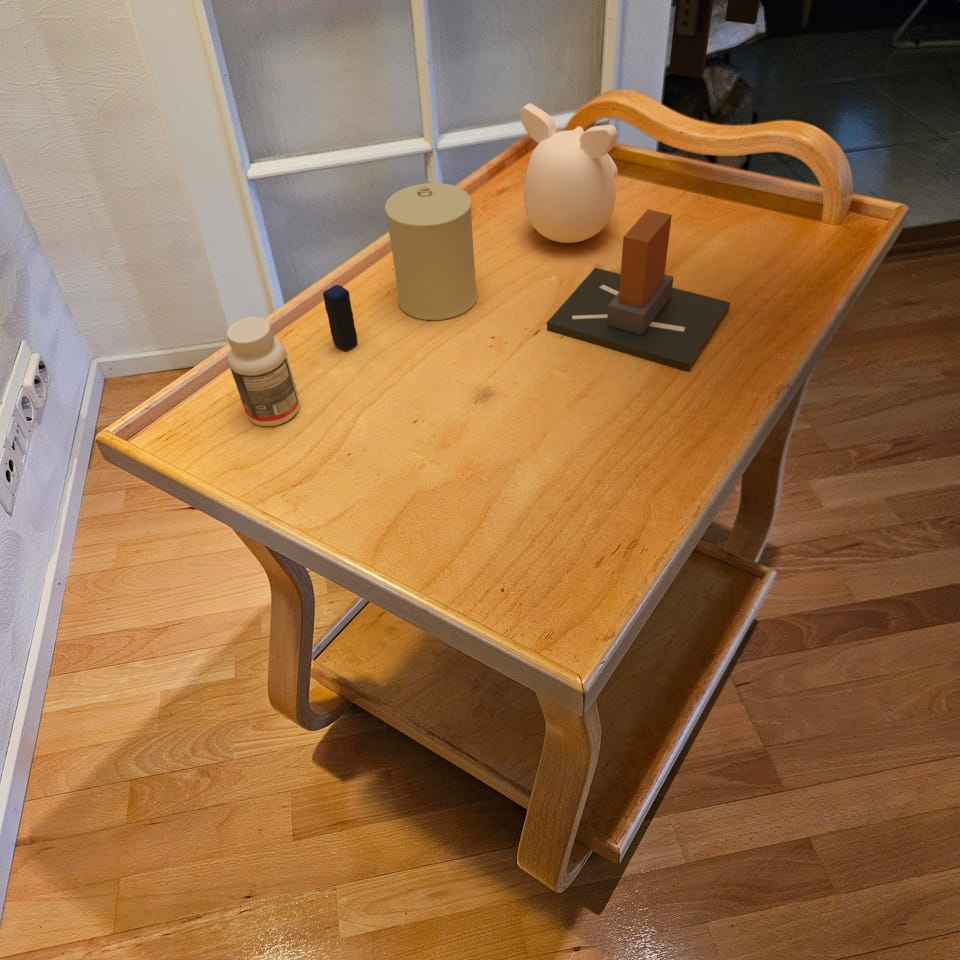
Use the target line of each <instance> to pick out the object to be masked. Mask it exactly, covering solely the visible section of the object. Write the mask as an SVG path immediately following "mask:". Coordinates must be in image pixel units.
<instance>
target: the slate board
mask: <svg viewBox="0 0 960 960" xmlns="http://www.w3.org/2000/svg"><path fill="white" fill-rule="evenodd" d="M620 276H621V273H618V272H614V271H610V270H606V269H602V268H598V267H594V268H593V269H592V271H591V272H590V273H589V274H588V275H587V276H586V277H585V279H583V281H582V282H581V283H580V284H579V285H578V287H577V288H576V289H574V291H573V292H572V293H571V294H570V296H569V297H567V298H566V300H565V301H564V302H563V303H562V304H561V306H560V307H558V309H557V310H556V311H555V313H554V314H553V315H551V316H550V318H549V319H548V321H547V322H546V331H551V332H554V333H557V334H560V335H564V336H567V337H571V338H575V339H578V340H581V341H584V342H588V343H591V344H595V345H598V346H601V347H605V348H608V349H611V350H615V351H618V352H621V353H625V354H628V355H632V356H635V357H638V358H641V359H645V360H649V361H650V362H651V361H652V362H654V363H659V364H662V365H665V366H668V367H672V368H675V369H679V370H682V371H686V372H690V371H691V369H692V367H693V366H694V364H695V363H696V362H697V360H698V359H699V356H700V355H701V354H702V352H703V350H704V349H705V347H707V344H709V341H710V340H711V338H712V336H713V335H714V334H715V332H716V331H717V329H718V327H719V326H720V325H721V323H722V321H723V320H724V318H725V317H726V316H727V313H728V312H729V310H730V306H731V302H730V301H727V300H723V299H719V298H715V297H711V296H708V295H703V294H701V293H696V292H693V291H692V292H691V291H687V290H684V289H680V288H676V287H673V286H672V293H671V297H670V298H669V300H668V301H667V302H666V304H665V305H664V306H663V308H662V309H661V310H660V312H659V313H658V314H657V316H656V317H655V318H654V320H653V321H652V322H651V324H650V325H649V326H648V328H647V329H646V330H645V332H644V333H643V334H642V335H639V334H636V333H632V332H629V331H625V330H622V329H619V328H615V327H612V326H608V325H607V315H608V305H609V304H610V303H611V301H612V300H613V299H614V298H615V296H616V295H617V294H618V293H619V289H620Z"/></svg>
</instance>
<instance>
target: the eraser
mask: <svg viewBox="0 0 960 960" xmlns="http://www.w3.org/2000/svg"><path fill="white" fill-rule="evenodd" d="M322 295H323V301H324V307H325V311H326V314H327V318H328V324H329V329H330V334H331V338H332V341H333V344H334V346H335V347H336V348H337V349H339V350H341V351H343V352H349V351H351V350H352V349H353V348H355V347H357V346H358V334H357V330H356V327H355V319H354V313H353V310H352V303H351V297H350V291H349V290H348V289H347V288H345V287H343V285H340V284H335V285H332V286H331V287H330V288H327V289H326V290H324V291H323V292H322Z"/></svg>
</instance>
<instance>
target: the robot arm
mask: <svg viewBox="0 0 960 960" xmlns="http://www.w3.org/2000/svg"><path fill="white" fill-rule="evenodd" d="M713 6H714V0H675V9H674V18H673V29H672V37H671V45H670V46H671V47H670V57H669V66H668V74H671V75H677V76H685V77H690V78H691V77H692V78H697V79H701V78H703V76H704V74H705V67H706V60H707V51H708V45H709V37H710V30H711V24H712V23H711V22H712V15H713V8H714V7H713ZM760 7H761V0H727V3H726V12H725V18H724V22H730V23H738V24H748V25H756V23H757V22H758V19H759V18H758V17H759V11H760Z"/></svg>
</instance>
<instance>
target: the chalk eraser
mask: <svg viewBox="0 0 960 960" xmlns="http://www.w3.org/2000/svg"><path fill="white" fill-rule="evenodd" d="M672 216H673V215H672V214H671V213H666V212H662V211H657V210H653V209H649V208H648V209H647V210H645V212H643V214H642V215H641V216H640V218H639V219H638V220H637V221H636V222H635V223H634V224H633V225H632V227H631V228H630V229H629V230H628V231H627V232H626V233H625V234H624V236H623V239H622V250H621V251H622V252H621V263H620V264H621V265H620V274H621V276H620V289H619V293H618V294H617V295H616V296H615V298H614V299H613V300H612V301H611V303H610V304H609V305H608V315H607V325H608V326H612V327H615V328H619V329H622V330H625V331H629V332H632V333H636V334H639V335H642V334H643V333H644V332H645V330H646V329H647V328H648V326H649V325H650V324H651V322H652V321H653V320H654V318H655V317H656V316H657V314H658V313H659V312H660V310H661V309H662V308H663V306H664V305H665V304H666V302H667V301H668V300H669V298H670V297H671V293H672V287H673V285H674V277H675V276H673V275H670V274H666V267H667V257H668V248H669V243H670V242H669V240H670V234H671V225H672Z"/></svg>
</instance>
